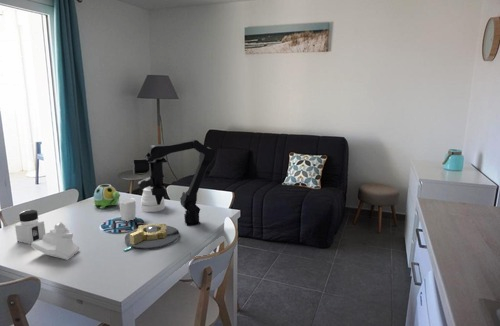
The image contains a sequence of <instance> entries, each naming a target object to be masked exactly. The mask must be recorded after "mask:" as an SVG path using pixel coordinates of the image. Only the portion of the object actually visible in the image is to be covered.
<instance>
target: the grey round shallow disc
mask: <svg viewBox="0 0 500 326" xmlns="http://www.w3.org/2000/svg"><path fill="white" fill-rule="evenodd" d="M166 228H167V237H165V238H160V239H159V238H158V239H155V240H143V241H141V242H139V243H137V244H135V245H134V244H130V234H131V233H134V232H136V231H137V229H138V227H137V228H136V229H133V230H131V231H129V232H128V233H126V235H125V237H124V242H125V245H126V246H127V247H126V248H124V249H123V252H125V253H127V252H128V251H130V250H132V249H134V250H146V251H147V250H148V251H149V250H155V249H160V248H164V247H168V246H170V245H172V244H174V243H175V242H177V241H178V239H179V237H180V232H179V229H177V228H176V227H174V226H172V225H171V226H170V225H167V224H166ZM157 231H158V226H156V225H151V226H147V227H146V232H147V233H151V232H157Z"/></svg>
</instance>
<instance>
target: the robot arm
mask: <svg viewBox="0 0 500 326" xmlns="http://www.w3.org/2000/svg"><path fill="white" fill-rule="evenodd" d="M193 149H194V150H196V151H197V152H198V153H199V159H198V165H197V168H196V169H195V172H194V175H193V177H192V180H191V183H190V185H189V187H188V190H187V191H186V192H185V191H183V192H182V194H181V197H180V198H179V200H180V205H181V207H183V208H184V210H185V213H184V214H183V215H184V223H185V224H186V226H187V227H188V226H195V225H200V224H201V223H200V213H201V212H200V211H201V208H200V207H199V206H198V205H197V202H198V200H197V199H198V192H199V189H200V187H201V185H202V182H203V180H204V177H205V174H206V172H207V169H208V168H209V166H210V165H211V164H212V162H214V160H215V158H216V156H217V153H216V151H215V149H213V148H211V147H209V146H206V145H204V144H202V143H201V142H200V141H199V140H196V139H193V138H192V139H191V140H186V141H180V142H175V143H171V144H160V143H159V144H152V145H149V147H148V151H147V153H146V155H145V157H144V158H133V159H132V174H133V175H141V174H142V175H144V174H147V173H148V172H150V174H149V177H146V178H143V179H141V180H139V181H138V182H137V185H138V186H139V189H140V190H141V191H143V189H144V188H146V187H149V186H150V187H153V188H152V189H151V192H152V195H155V197H156V201H157V205H160V203H161V200H162V198H163V197H164V196H165V195H167V194H168V193H167V188H166V186H165V182H164V181H165V180H164V179H165V174H164V163H168V160H167V159H166V158H165V157H166V156H168V155H170V154H173V153H177V152H183V151H188V150H193Z"/></svg>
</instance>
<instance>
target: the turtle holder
mask: <svg viewBox="0 0 500 326" xmlns="http://www.w3.org/2000/svg"><path fill="white" fill-rule="evenodd" d="M120 197H121V194H120V192H118V191H117V189H116V188H115V187H114V186H112V185H111V184H108V183H105V184H100V185H98V186H97V187H96V188H95V190H94V193H93V203H94V206H95V207H99V206H100V207H99V209H101V210H104V209H105V208H106V207H107V206H117V205H119V201H120Z"/></svg>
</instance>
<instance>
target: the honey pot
mask: <svg viewBox="0 0 500 326" xmlns="http://www.w3.org/2000/svg"><path fill="white" fill-rule="evenodd" d="M152 188H153V187H150V186H149V187H146V188H144V189H143V190H142V194H141V195H142V196H141V199H140V210H141V211H142V212H145V213H154V212H155V213H156V212H160V211H163V210H164V209H165V208H166V207H165V198H164V196H163V198H162V200H161V203H160V205H157V201H156V197H155V195H152V192H151V189H152Z"/></svg>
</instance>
